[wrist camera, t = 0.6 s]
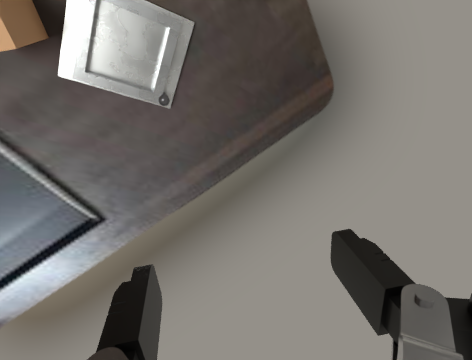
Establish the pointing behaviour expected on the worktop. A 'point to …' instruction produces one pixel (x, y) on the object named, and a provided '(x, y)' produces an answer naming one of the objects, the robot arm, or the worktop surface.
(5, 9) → the tan block
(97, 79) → the plate
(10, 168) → the worktop surface
